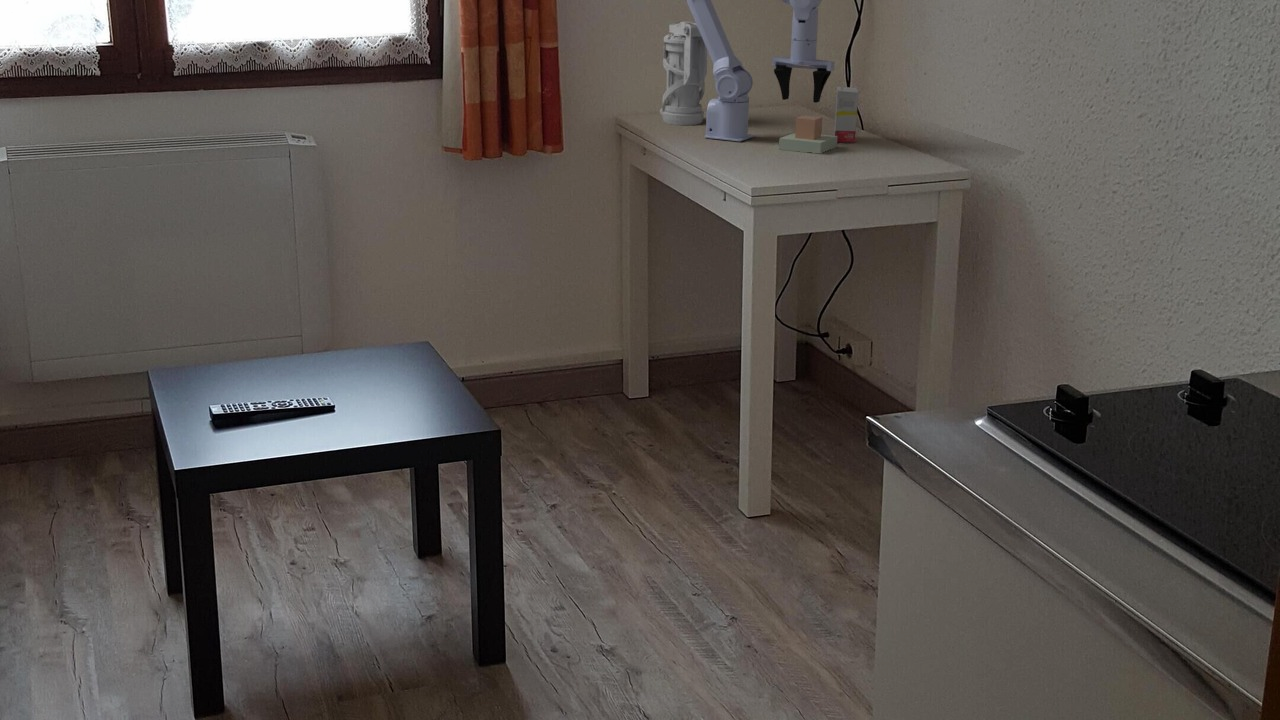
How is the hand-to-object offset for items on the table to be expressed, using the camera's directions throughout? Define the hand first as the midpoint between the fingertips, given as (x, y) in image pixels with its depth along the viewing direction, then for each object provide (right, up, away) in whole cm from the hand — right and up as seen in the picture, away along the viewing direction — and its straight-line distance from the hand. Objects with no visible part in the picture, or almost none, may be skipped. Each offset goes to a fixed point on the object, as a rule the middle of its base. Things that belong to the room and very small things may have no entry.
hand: (800, 100), depth 310 cm
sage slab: (+1, -11, -2) cm, 11 cm away
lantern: (-25, 0, +29) cm, 38 cm away
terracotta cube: (+1, -9, -3) cm, 9 cm away
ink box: (+11, -8, +9) cm, 17 cm away
